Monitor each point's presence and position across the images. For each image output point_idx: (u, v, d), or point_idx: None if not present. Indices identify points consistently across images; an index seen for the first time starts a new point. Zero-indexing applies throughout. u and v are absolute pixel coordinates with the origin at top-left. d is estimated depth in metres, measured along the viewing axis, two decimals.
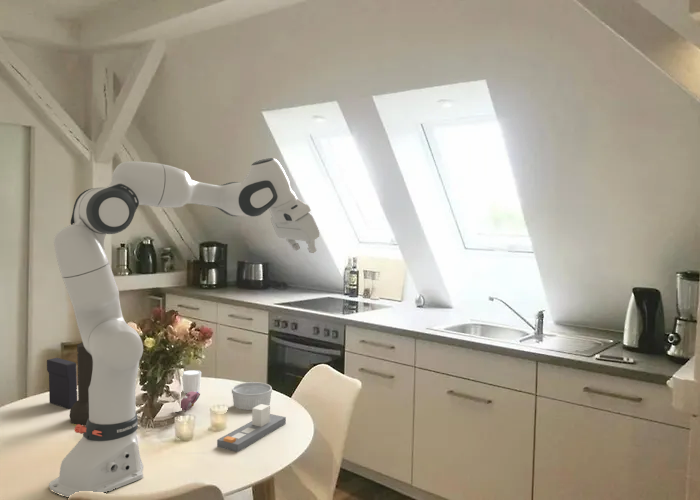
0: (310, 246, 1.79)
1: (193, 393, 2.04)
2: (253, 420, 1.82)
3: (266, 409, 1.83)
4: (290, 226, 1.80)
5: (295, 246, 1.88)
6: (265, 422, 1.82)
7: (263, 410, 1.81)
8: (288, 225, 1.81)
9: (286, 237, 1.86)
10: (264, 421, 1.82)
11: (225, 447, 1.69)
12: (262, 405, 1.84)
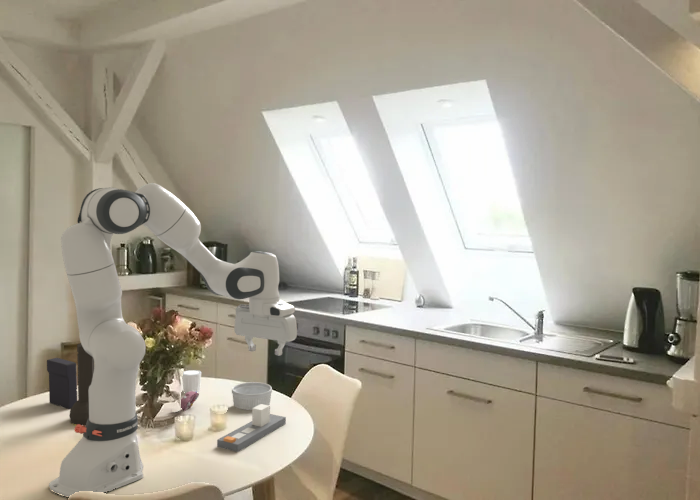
0: (280, 347, 1.78)
1: (192, 393, 2.04)
2: (253, 420, 1.82)
3: (266, 409, 1.83)
4: (265, 322, 1.79)
5: (253, 347, 1.83)
6: (265, 422, 1.82)
7: (263, 410, 1.81)
8: (262, 322, 1.80)
9: (250, 334, 1.82)
10: (264, 421, 1.82)
11: (225, 447, 1.69)
12: (262, 405, 1.84)
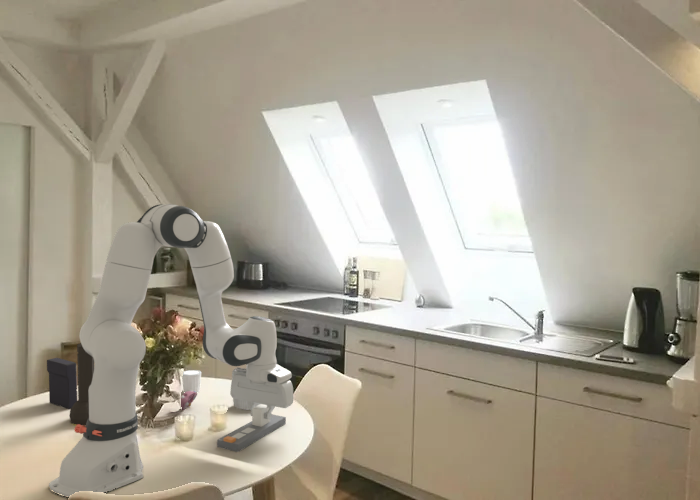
0: (269, 411, 1.81)
1: (190, 393, 2.04)
2: (253, 420, 1.82)
3: (266, 409, 1.83)
4: (261, 388, 1.80)
5: None
6: (265, 422, 1.82)
7: (263, 410, 1.81)
8: (259, 387, 1.81)
9: (246, 399, 1.83)
10: (264, 421, 1.82)
11: (225, 447, 1.69)
12: (262, 405, 1.84)
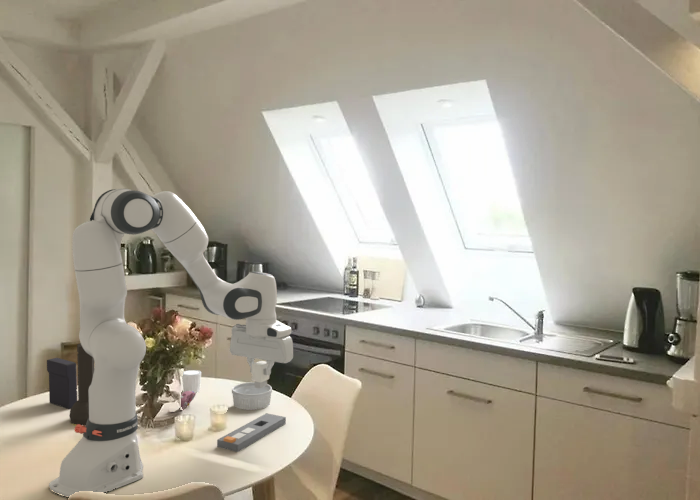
0: (269, 367, 1.80)
1: (189, 393, 2.04)
2: (252, 376, 1.81)
3: (266, 365, 1.82)
4: (261, 343, 1.79)
5: None
6: (264, 378, 1.81)
7: (263, 366, 1.80)
8: (258, 342, 1.80)
9: (245, 355, 1.82)
10: (264, 377, 1.81)
11: (225, 447, 1.69)
12: (262, 362, 1.83)
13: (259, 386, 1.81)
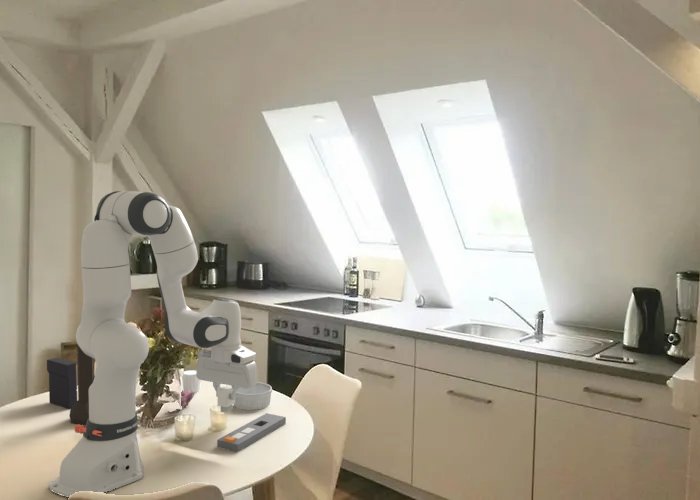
0: (234, 392, 1.82)
1: (187, 392, 2.04)
2: (218, 401, 1.83)
3: (232, 389, 1.84)
4: (226, 368, 1.82)
5: None
6: (230, 403, 1.84)
7: (228, 391, 1.83)
8: (223, 368, 1.82)
9: (211, 380, 1.84)
10: (230, 402, 1.84)
11: (225, 447, 1.69)
12: (227, 386, 1.86)
13: (225, 410, 1.83)
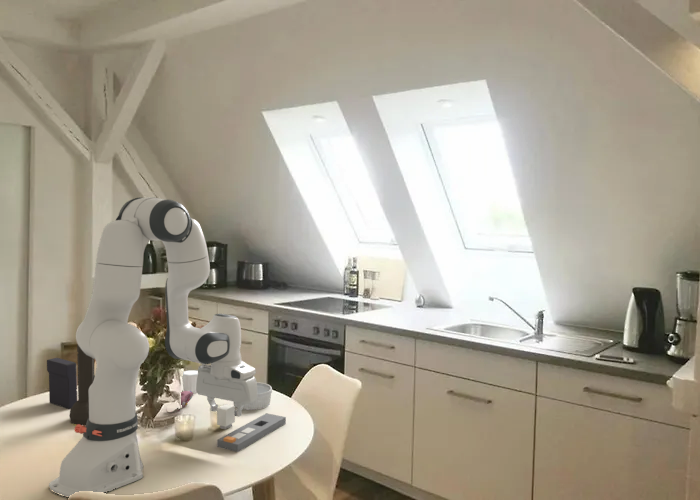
0: (239, 409, 1.82)
1: (187, 392, 2.04)
2: (218, 420, 1.84)
3: (231, 409, 1.85)
4: (226, 384, 1.82)
5: (215, 407, 1.86)
6: (230, 422, 1.84)
7: (227, 410, 1.83)
8: (223, 383, 1.83)
9: (211, 395, 1.85)
10: (229, 421, 1.84)
11: (225, 447, 1.69)
12: (227, 405, 1.86)
13: None
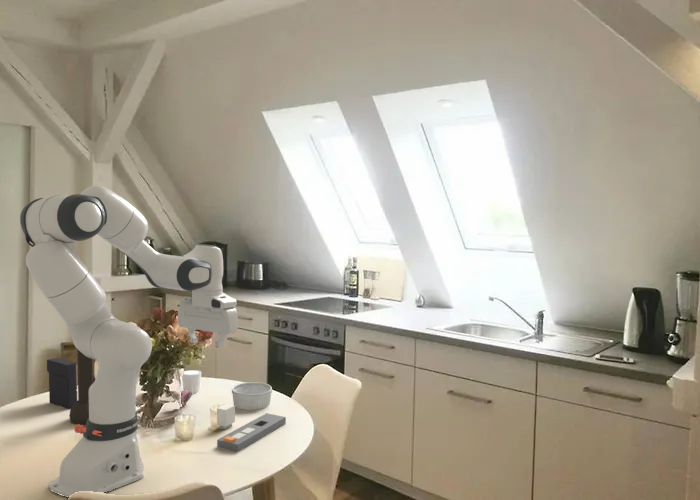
0: (220, 340, 1.81)
1: (185, 392, 2.04)
2: (218, 420, 1.84)
3: (231, 409, 1.85)
4: (206, 315, 1.82)
5: (195, 339, 1.86)
6: (230, 422, 1.84)
7: (227, 410, 1.83)
8: (204, 314, 1.82)
9: (192, 326, 1.84)
10: (229, 421, 1.84)
11: (225, 447, 1.69)
12: (227, 405, 1.86)
13: None
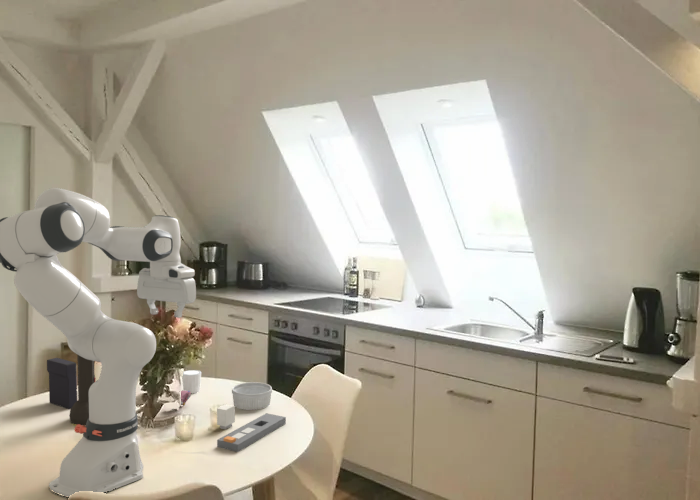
0: (179, 310, 1.83)
1: (184, 392, 2.05)
2: (218, 420, 1.84)
3: (231, 409, 1.85)
4: (165, 285, 1.84)
5: (154, 310, 1.88)
6: (230, 422, 1.84)
7: (227, 410, 1.83)
8: (162, 284, 1.84)
9: (151, 297, 1.86)
10: (229, 421, 1.84)
11: (225, 447, 1.69)
12: (227, 405, 1.86)
13: None
